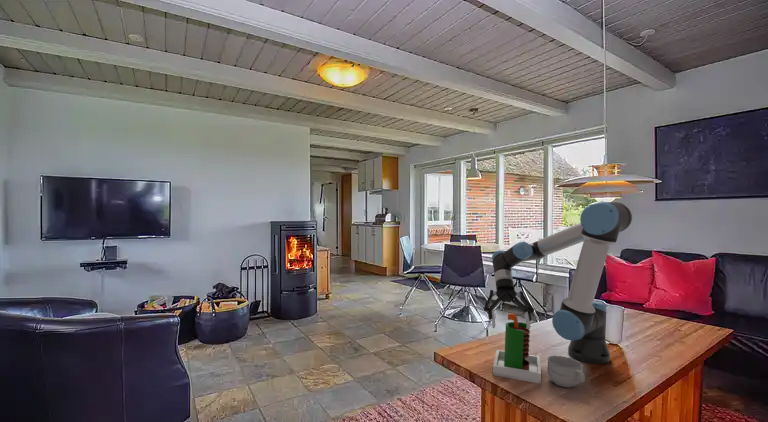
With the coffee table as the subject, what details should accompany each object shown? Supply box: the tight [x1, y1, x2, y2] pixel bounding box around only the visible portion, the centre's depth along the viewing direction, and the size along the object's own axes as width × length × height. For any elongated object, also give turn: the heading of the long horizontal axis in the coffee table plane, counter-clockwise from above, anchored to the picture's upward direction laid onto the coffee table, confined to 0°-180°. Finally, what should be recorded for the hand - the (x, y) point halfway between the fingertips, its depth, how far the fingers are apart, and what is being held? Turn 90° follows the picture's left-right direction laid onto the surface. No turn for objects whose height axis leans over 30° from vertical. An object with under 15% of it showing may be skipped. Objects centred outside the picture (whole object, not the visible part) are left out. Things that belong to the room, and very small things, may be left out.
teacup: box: [546, 355, 586, 388], centre depth 128 cm, size 14×11×8 cm
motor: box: [504, 312, 531, 371], centre depth 140 cm, size 10×9×20 cm
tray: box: [492, 349, 542, 384], centre depth 140 cm, size 16×16×4 cm
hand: (511, 327), depth 150 cm, fingers open, 13 cm apart
